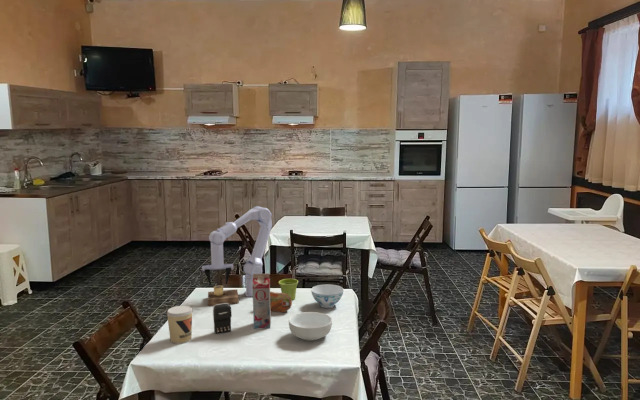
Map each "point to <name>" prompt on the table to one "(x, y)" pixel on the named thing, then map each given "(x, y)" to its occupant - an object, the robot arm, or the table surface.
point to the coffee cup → (180, 324)
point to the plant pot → (289, 287)
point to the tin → (280, 302)
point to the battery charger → (222, 318)
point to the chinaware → (327, 294)
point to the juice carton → (261, 301)
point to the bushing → (218, 291)
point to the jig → (223, 298)
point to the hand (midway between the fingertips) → (218, 284)
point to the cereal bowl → (310, 325)
